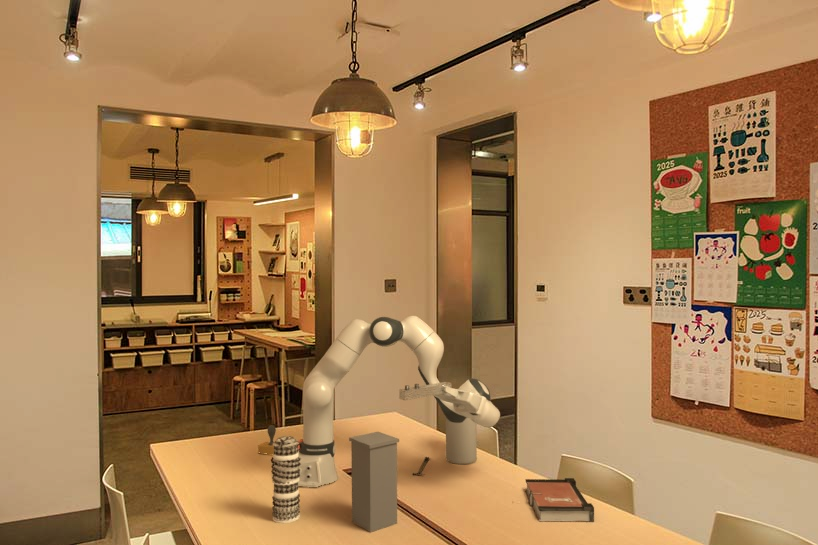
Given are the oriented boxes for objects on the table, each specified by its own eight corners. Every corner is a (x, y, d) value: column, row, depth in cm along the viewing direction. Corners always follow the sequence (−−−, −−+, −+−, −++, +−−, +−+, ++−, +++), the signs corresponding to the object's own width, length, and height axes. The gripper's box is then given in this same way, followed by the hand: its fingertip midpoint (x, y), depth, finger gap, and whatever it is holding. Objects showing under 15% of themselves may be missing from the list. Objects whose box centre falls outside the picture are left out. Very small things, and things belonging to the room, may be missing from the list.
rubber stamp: (285, 452, 260) (285, 424, 259) (277, 456, 254) (277, 427, 254) (265, 450, 263) (265, 422, 263) (257, 453, 258) (257, 425, 258)
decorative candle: (274, 525, 185) (273, 443, 184) (268, 514, 193) (268, 436, 193) (304, 520, 188) (303, 440, 188) (297, 510, 197) (296, 433, 197)
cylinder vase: (468, 466, 239) (467, 403, 239) (440, 461, 246) (440, 400, 246) (481, 458, 250) (481, 397, 249) (454, 453, 256) (454, 394, 256)
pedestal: (370, 533, 179) (369, 445, 179) (349, 521, 187) (349, 437, 187) (399, 523, 186) (399, 438, 186) (378, 512, 194) (378, 431, 194)
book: (523, 492, 213) (523, 477, 213) (573, 492, 212) (573, 478, 212) (537, 523, 187) (536, 507, 187) (594, 523, 186) (594, 507, 186)
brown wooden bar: (405, 400, 192) (405, 387, 192) (399, 398, 195) (399, 385, 194) (451, 392, 205) (451, 379, 205) (445, 390, 207) (445, 378, 207)
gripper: (449, 389, 220) (423, 374, 213) (490, 398, 204) (464, 382, 197) (442, 405, 218) (416, 391, 211) (483, 416, 202) (457, 400, 195)
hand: (440, 387), depth 203 cm, fingers closed on brown wooden bar, 3 cm apart
